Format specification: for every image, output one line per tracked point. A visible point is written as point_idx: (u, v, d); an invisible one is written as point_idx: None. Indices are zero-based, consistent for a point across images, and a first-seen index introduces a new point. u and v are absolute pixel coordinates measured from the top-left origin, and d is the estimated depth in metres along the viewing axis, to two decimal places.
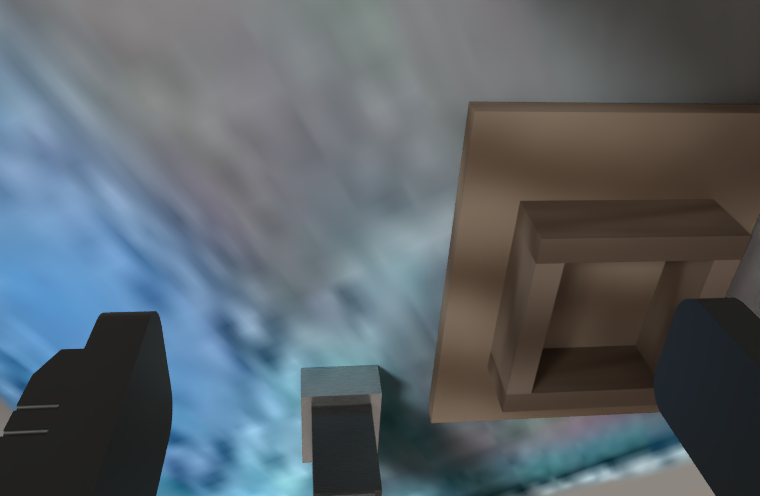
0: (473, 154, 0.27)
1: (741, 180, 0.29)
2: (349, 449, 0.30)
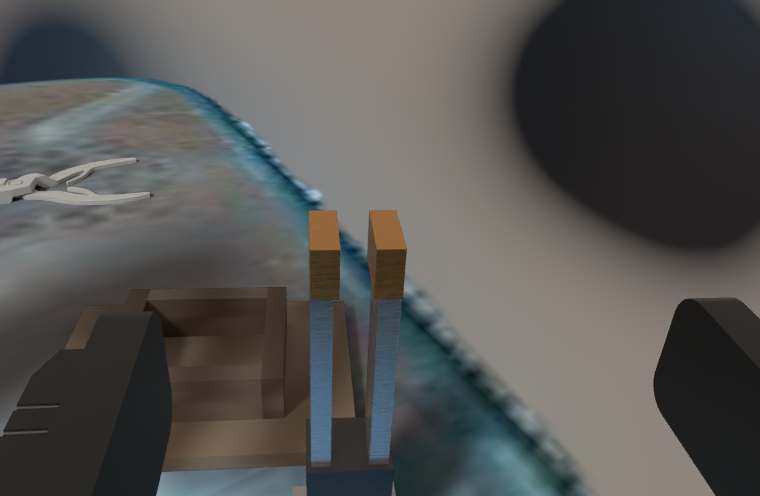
0: None
1: None
2: None
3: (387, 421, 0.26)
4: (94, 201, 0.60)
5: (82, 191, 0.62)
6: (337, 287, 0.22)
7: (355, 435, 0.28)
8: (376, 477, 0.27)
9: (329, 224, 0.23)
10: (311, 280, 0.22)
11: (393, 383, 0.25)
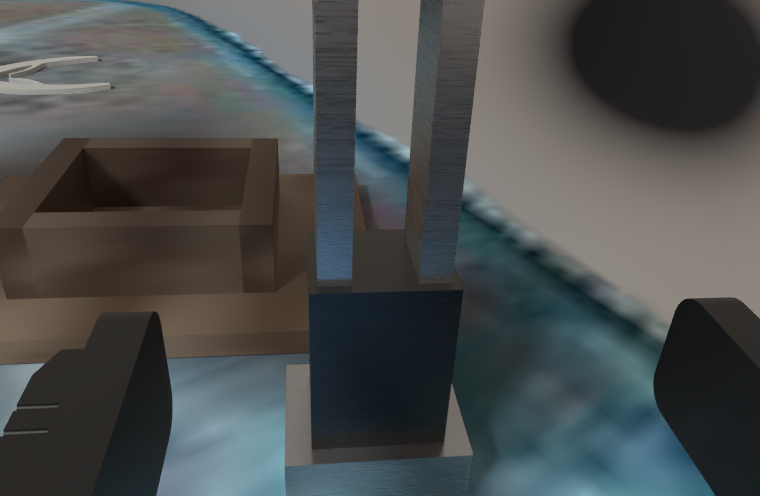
0: None
1: None
2: None
3: (454, 190, 0.14)
4: (40, 90, 0.49)
5: (27, 82, 0.51)
6: None
7: (391, 249, 0.17)
8: (431, 306, 0.15)
9: None
10: None
11: (469, 102, 0.13)
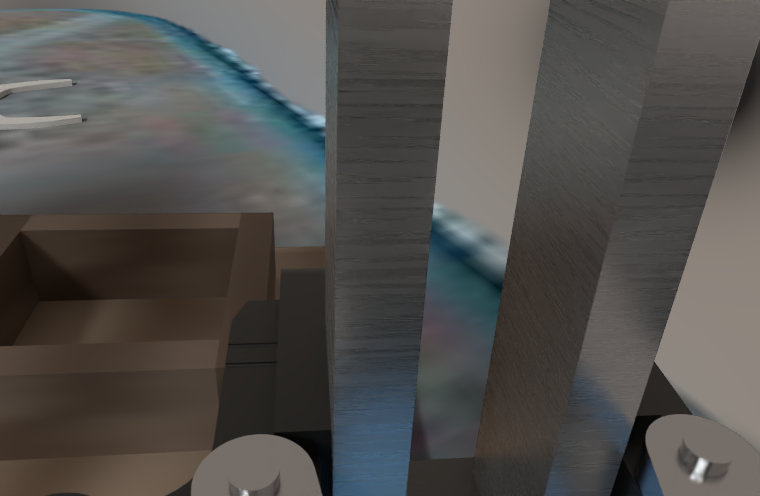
0: None
1: None
2: None
3: (597, 489, 0.07)
4: None
5: None
6: None
7: None
8: None
9: None
10: None
11: (650, 352, 0.06)
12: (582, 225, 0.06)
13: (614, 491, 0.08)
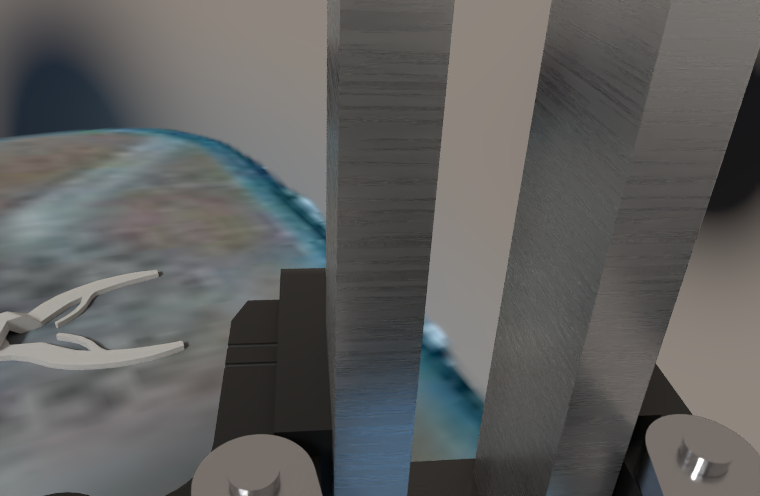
0: None
1: None
2: None
3: (598, 491, 0.07)
4: (98, 364, 0.38)
5: (80, 341, 0.40)
6: None
7: None
8: None
9: None
10: None
11: (651, 355, 0.06)
12: (583, 227, 0.06)
13: (614, 491, 0.08)
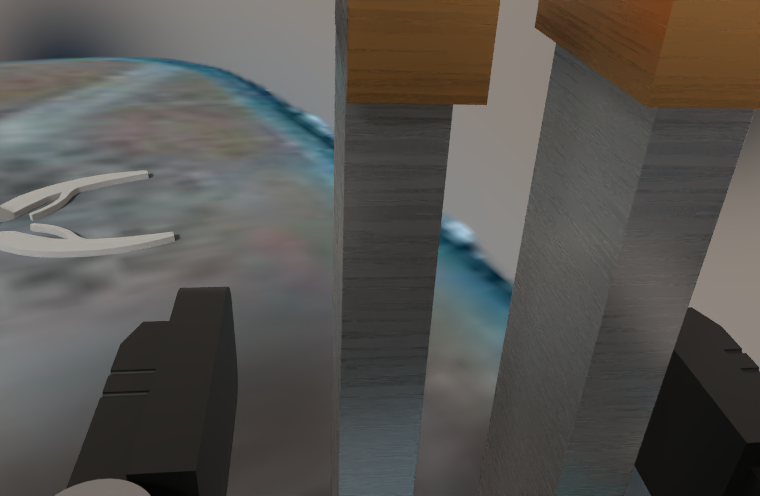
0: None
1: None
2: None
3: None
4: (76, 251, 0.34)
5: (56, 231, 0.35)
6: (485, 29, 0.04)
7: None
8: None
9: None
10: None
11: (626, 468, 0.07)
12: (565, 354, 0.07)
13: None
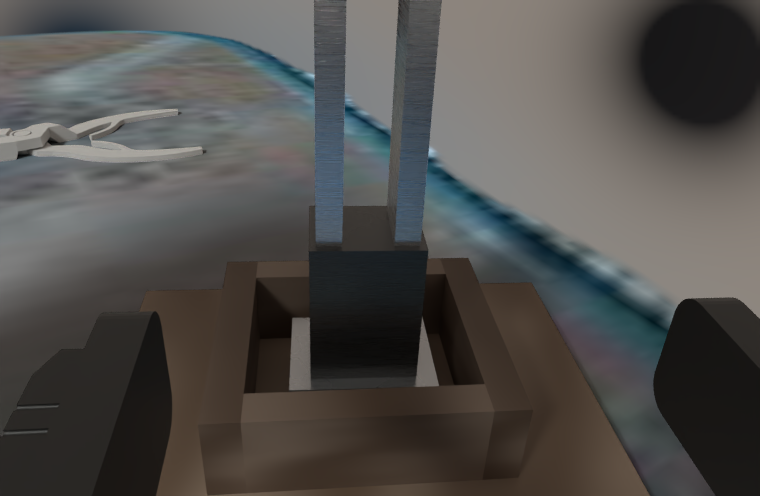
0: None
1: (213, 309, 0.28)
2: None
3: (420, 172, 0.19)
4: (129, 157, 0.44)
5: (111, 146, 0.46)
6: None
7: (375, 221, 0.21)
8: (404, 263, 0.20)
9: None
10: None
11: (429, 105, 0.18)
12: (403, 57, 0.18)
13: None
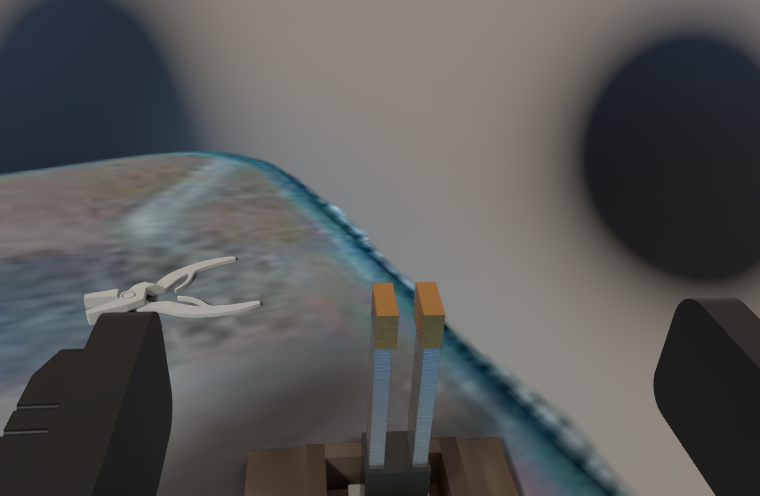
0: None
1: (292, 465, 0.45)
2: (362, 476, 0.38)
3: (427, 435, 0.35)
4: (208, 314, 0.60)
5: (193, 301, 0.62)
6: (395, 340, 0.31)
7: (400, 445, 0.37)
8: (417, 477, 0.36)
9: (388, 295, 0.32)
10: (377, 336, 0.31)
11: (432, 407, 0.34)
12: (418, 384, 0.34)
13: None
